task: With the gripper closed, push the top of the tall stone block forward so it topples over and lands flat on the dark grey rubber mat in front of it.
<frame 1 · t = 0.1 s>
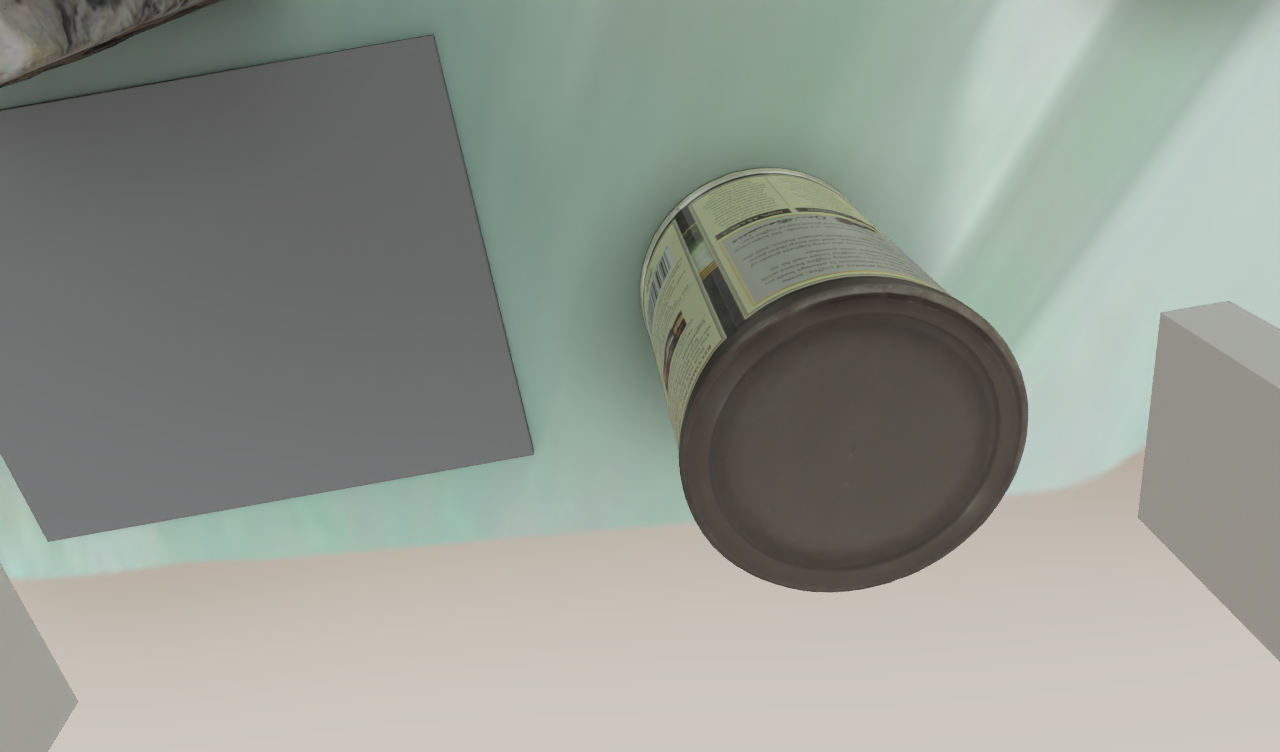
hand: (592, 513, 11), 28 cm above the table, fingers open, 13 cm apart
mat: (223, 310, 38), on the table
coffee can: (758, 282, 40), on the table
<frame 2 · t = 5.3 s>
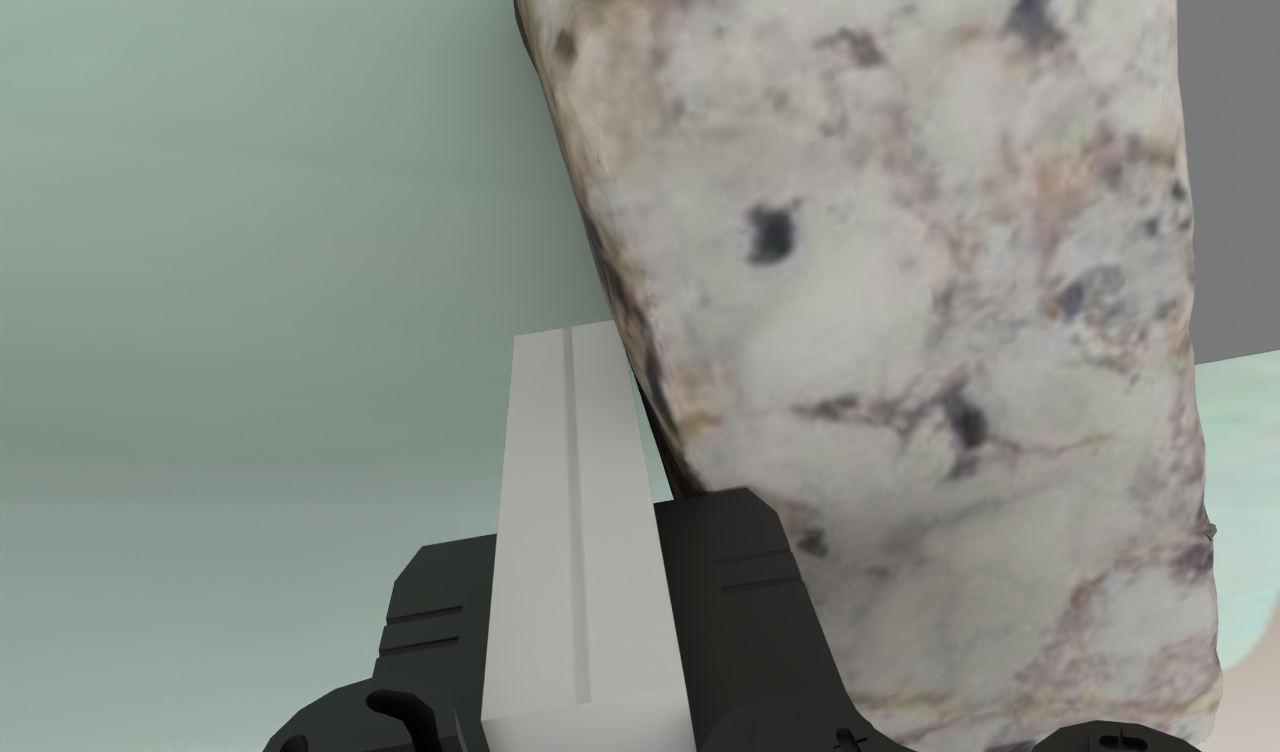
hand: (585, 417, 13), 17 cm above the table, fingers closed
mat: (1075, 61, 28), on the table
stone block: (648, 132, 28), on the table, touching gripper
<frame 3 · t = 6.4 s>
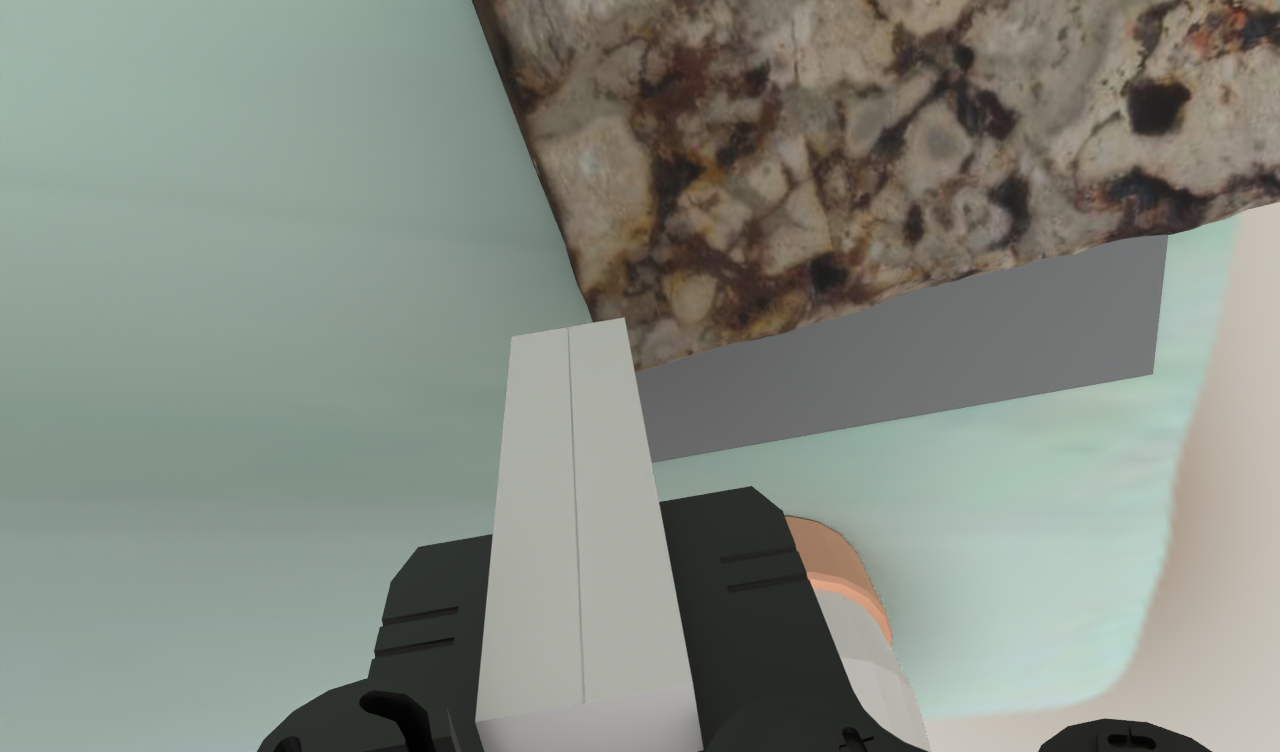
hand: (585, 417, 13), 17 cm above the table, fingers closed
mat: (884, 92, 28), on the table
stone block: (520, 152, 25), point 3 cm above the table, touching mat
salt shaker: (769, 591, 36), on the table
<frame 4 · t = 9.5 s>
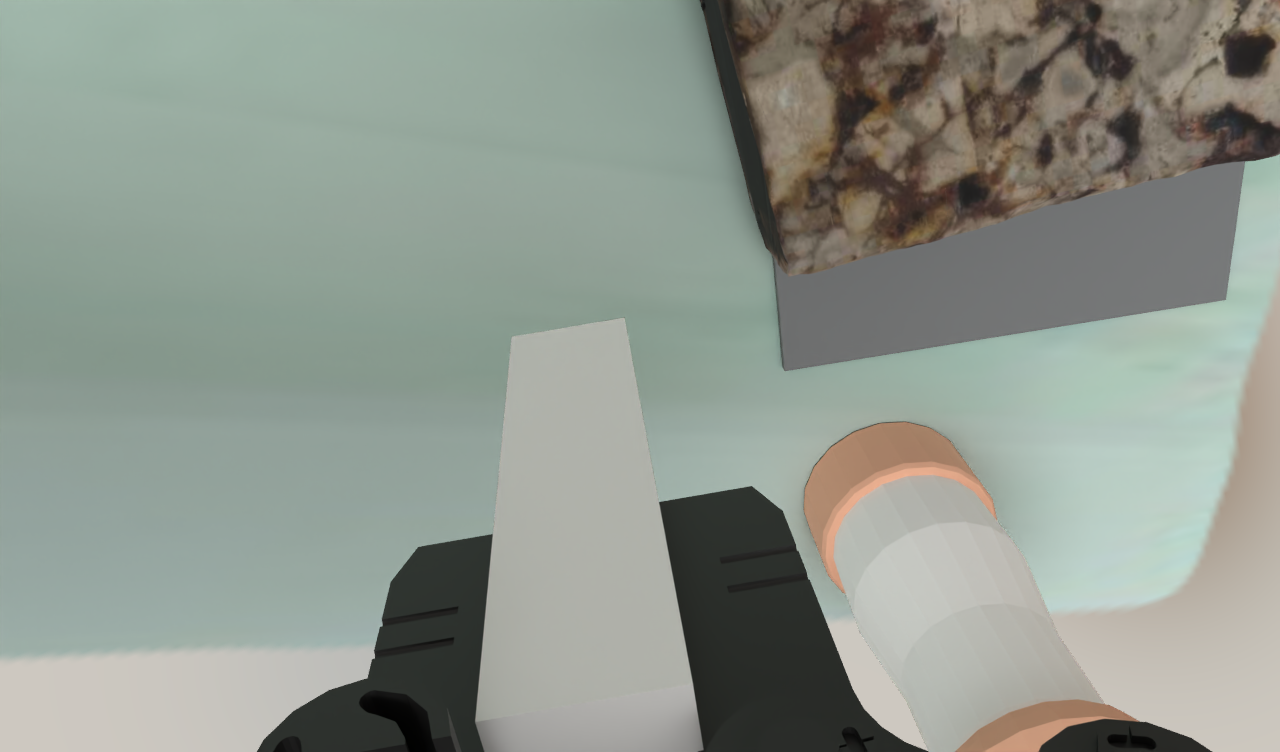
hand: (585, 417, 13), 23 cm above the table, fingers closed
mat: (1008, 50, 33), on the table
stone block: (718, 93, 31), point 3 cm above the table, touching mat
salt shaker: (883, 491, 41), on the table
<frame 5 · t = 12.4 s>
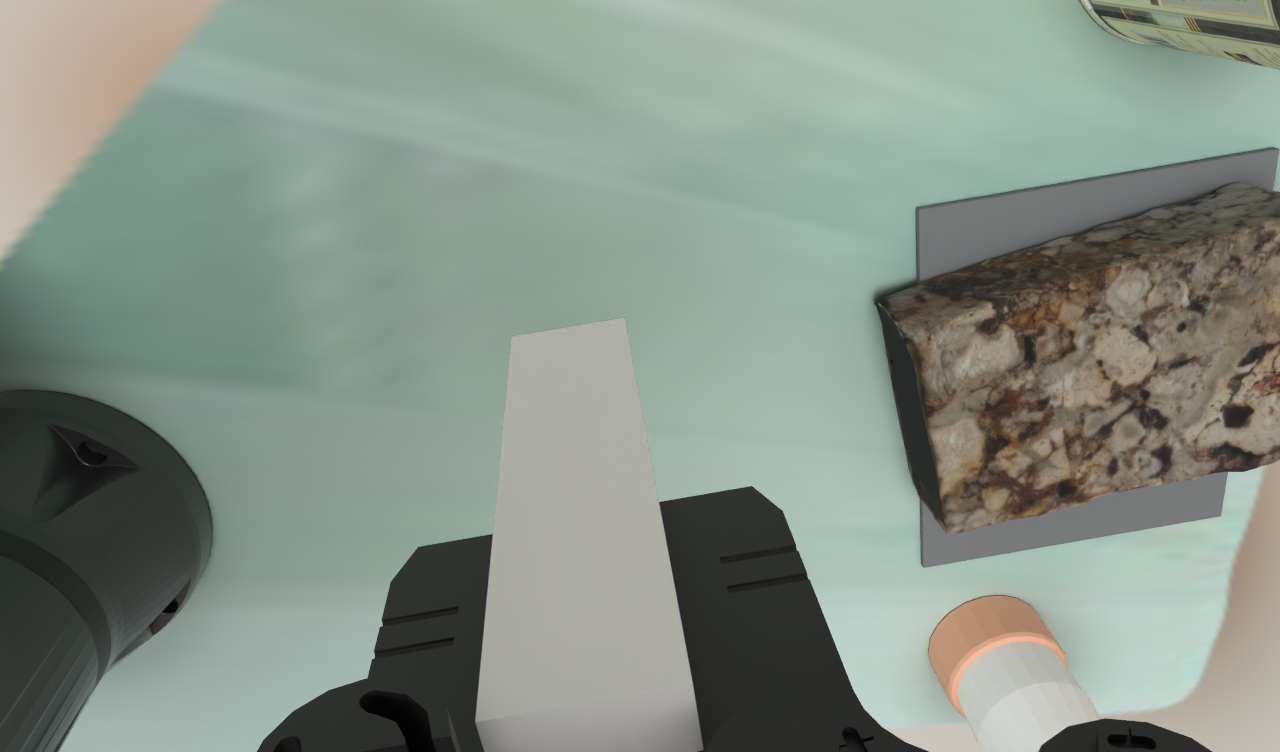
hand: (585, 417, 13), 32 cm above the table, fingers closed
mat: (1080, 374, 51), on the table
stone block: (903, 421, 48), point 3 cm above the table, touching mat
salt shaker: (983, 638, 59), on the table
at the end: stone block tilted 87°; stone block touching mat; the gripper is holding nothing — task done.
